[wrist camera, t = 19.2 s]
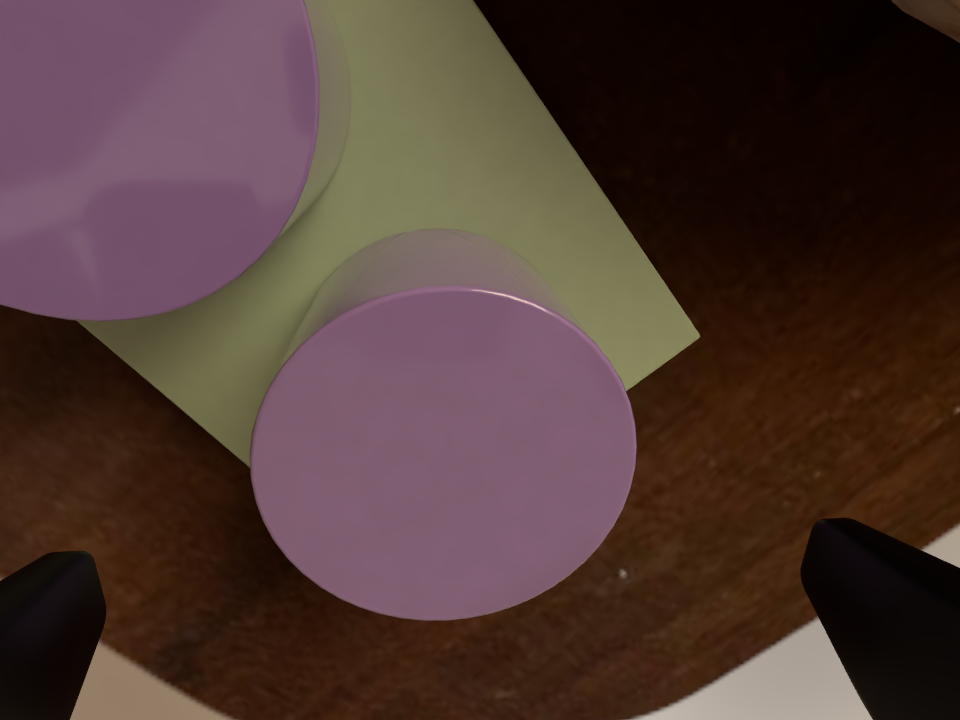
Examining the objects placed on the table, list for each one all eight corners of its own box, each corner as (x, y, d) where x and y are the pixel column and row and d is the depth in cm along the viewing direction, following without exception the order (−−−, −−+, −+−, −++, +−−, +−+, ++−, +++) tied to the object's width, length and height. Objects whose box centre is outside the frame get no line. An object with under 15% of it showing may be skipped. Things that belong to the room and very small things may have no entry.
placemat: (-144, 112, 11) (-172, 112, 11) (253, -314, 10) (243, -341, 9) (375, 559, 16) (374, 575, 16) (691, 328, 15) (702, 337, 14)
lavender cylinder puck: (308, 482, 14) (269, 633, 10) (287, 225, 12) (224, 285, 8) (558, 474, 15) (615, 612, 11) (581, 229, 13) (664, 287, 9)
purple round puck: (42, 248, 12) (-154, 324, 8) (-49, -134, 10) (-398, -318, 5) (358, 251, 12) (333, 321, 8) (343, -105, 10) (297, -251, 6)
